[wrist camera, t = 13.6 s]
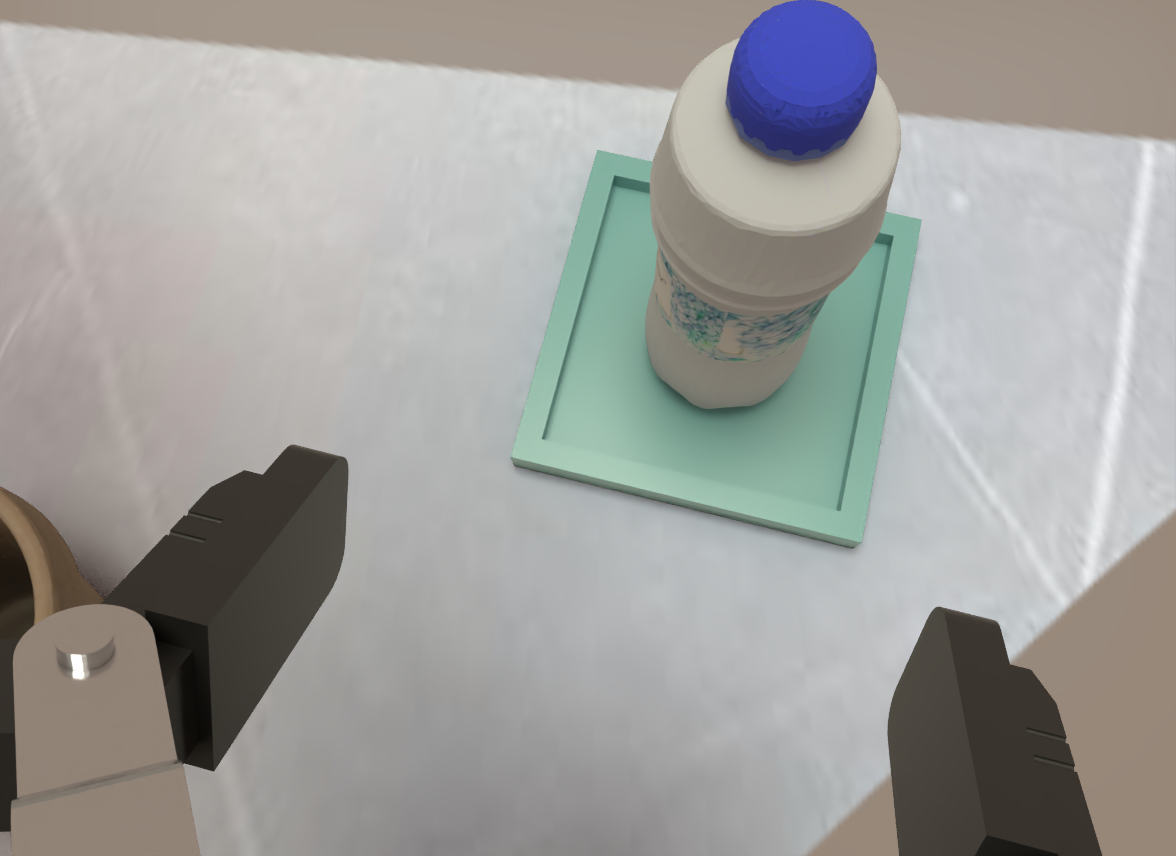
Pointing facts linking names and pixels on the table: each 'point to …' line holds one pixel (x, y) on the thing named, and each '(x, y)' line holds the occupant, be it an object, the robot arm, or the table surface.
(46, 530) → the flower pot
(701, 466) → the tray
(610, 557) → the table surface
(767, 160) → the bottle
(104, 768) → the robot arm
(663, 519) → the table surface
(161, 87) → the table surface
